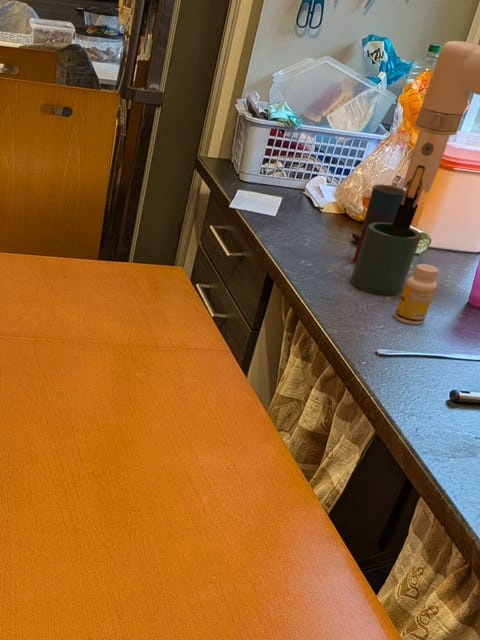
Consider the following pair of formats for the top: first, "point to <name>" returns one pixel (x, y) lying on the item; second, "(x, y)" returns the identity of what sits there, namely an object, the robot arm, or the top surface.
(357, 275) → the jar
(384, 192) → the cup
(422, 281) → the supplement bottle
